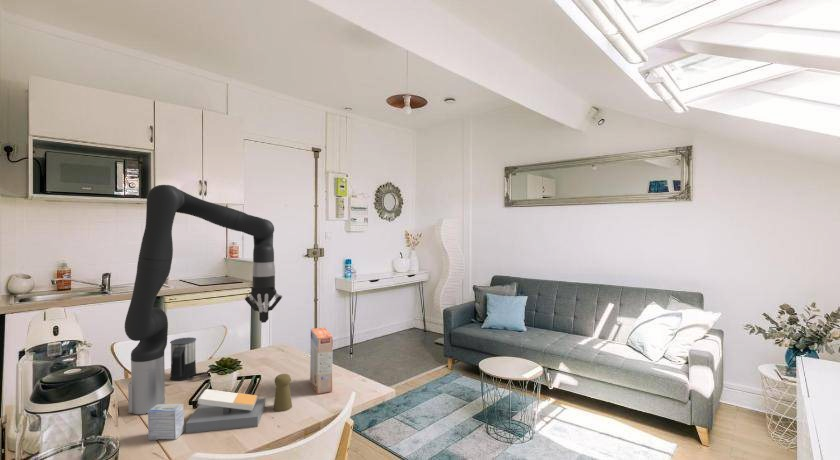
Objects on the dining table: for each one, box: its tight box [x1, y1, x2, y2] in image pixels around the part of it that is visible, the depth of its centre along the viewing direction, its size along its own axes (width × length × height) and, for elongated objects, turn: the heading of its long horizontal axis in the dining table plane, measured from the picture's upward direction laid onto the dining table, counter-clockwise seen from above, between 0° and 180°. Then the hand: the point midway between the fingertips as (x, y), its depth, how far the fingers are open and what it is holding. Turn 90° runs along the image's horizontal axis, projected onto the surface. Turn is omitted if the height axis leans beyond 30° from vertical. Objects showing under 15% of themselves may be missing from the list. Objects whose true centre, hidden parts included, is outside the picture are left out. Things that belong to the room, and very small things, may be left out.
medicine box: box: [147, 403, 185, 441], centre depth 116 cm, size 8×4×9 cm, turn 92°
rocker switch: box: [196, 388, 258, 411], centre depth 126 cm, size 16×7×2 cm, turn 102°
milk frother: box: [169, 336, 211, 382], centre depth 159 cm, size 14×16×15 cm
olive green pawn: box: [272, 373, 293, 413], centre depth 134 cm, size 6×6×11 cm
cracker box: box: [309, 327, 334, 395], centre depth 151 cm, size 14×6×21 cm, turn 25°
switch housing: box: [185, 397, 266, 434], centre depth 126 cm, size 20×13×5 cm, turn 102°
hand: (264, 322), depth 143 cm, fingers closed
